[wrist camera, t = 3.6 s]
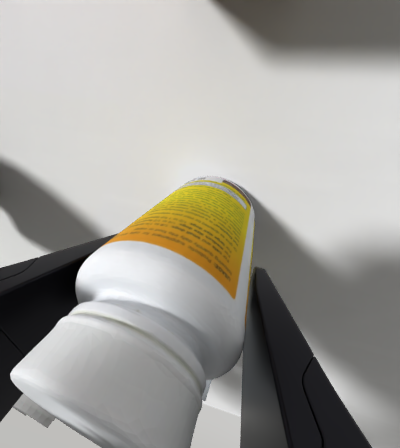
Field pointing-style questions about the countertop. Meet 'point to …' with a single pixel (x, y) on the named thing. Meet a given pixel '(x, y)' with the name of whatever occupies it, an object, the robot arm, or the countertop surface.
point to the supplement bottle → (150, 322)
